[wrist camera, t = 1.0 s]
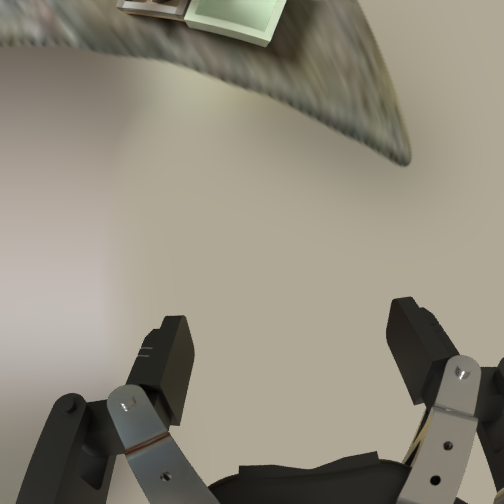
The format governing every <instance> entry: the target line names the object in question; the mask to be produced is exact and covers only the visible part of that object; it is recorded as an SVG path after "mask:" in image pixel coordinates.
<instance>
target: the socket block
mask: <svg viewBox="0 0 504 504" xmlns="http://www.w3.org/2000/svg"><path fill="white" fill-rule="evenodd" d="M190 3H191V0H171V1H168V2H164V3H156V2H152V1H150V0H118V3H117V5H116V8H118V9H119V10H121V11H122V12H124V13H126V14H136V15H145V16H153V17H160V18H167V19H173V20H179V21H184V22H185V20H184V18H185V15H186V13H187V10H188V8H189V5H190Z"/></svg>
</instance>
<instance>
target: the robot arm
mask: <svg viewBox="0 0 504 504" xmlns="http://www.w3.org/2000/svg"><path fill="white" fill-rule="evenodd" d="M386 339H387V343H388V346H389V348H390V350H391V352H392V354H393V357H394V359H395V361H396V364H397V366H398V368H399V370H400V373H401V375H402V377H403V380H404V382H405V384H406V387H407V389H408V392H409V394H410V396H411V399H412V401H413V404H414V405H417V404H421V403H425V406H426V409H425V411H424V413H423V416H422V419H421V421H420V424H419V426H418V429H417V431H416V434H415V436H414V438H413V441H412V443H411V445H410V448H409V450H408V452H407V454H406V456H405V457H404V459H403V461H402V463H399V462H396V461H392V460H385V459H379V458H378V454H377V451H375V452H370V453H365V454H360V455H354V456H349V457H344V458H341V459H339V460H336V461H334V462H331V463H328V464H325V465H322V466H320V467H317V468H314V469H300V468H292V467H284V466H278V465H256V466H255V465H252V466H239V474H235V475H231V476H228V477H225V478H223V479H220V480H218V481H216V482H215V483H213V484H211V485H210V486H208V487H207V486H206V485H205V483H204V482H203V481H202V479H201V478H200V477H199V476H198V474H197V473H196V471H195V470H194V468H193V467H192V466H191V464H190V463H189V461H188V460H187V459H186V457H185V456H184V454H183V453H182V451H181V450H180V448H179V447H178V445H177V444H176V442H175V441H174V439H173V438H172V436H171V435H170V433H169V432H168V431H169V427H170V425H175V426H180V422H181V417H182V413H183V408H184V403H185V398H186V394H187V390H188V385H189V380H190V376H191V372H192V367H193V363H194V356H195V354H194V345H193V341H192V337H191V334H190V330H189V326H188V323H187V320H186V317H185V316H184V315H181V316H165V318H164V320H163V322H162V325H161V327H160V329H153V330H152V331H151V332H150V333H149V334H148V335H147V336H146V337H145V339H144V341H143V343H142V346H141V349H140V351H139V353H138V357H137V358H136V360H135V362H134V365H133V367H132V370H131V372H130V374H129V377H128V380H127V382H126V384H125V385H123V386H120V387H118V388H117V389H115V390H114V391H113V392H112V393H111V394H110V395H109V397H108V399H107V400H101V401H95V402H88V403H87V402H86V401H85V400H84V398H83V397H82V396H81V395H79V394H75V393H69V394H66V395H64V396H62V397H60V398H59V399H58V400H57V401H56V402H55V404H54V405H53V408H52V410H51V412H50V414H49V417H48V419H47V421H46V423H45V426H44V428H43V431H42V433H41V435H40V438H39V440H38V443H37V445H36V448H35V450H34V453H33V455H32V458H31V460H30V463H29V466H28V468H27V472H26V474H25V477H24V480H23V483H22V486H21V489H20V492H19V495H18V498H17V501H16V504H106V500H107V495H108V490H109V486H110V481H111V477H112V473H113V468H114V464H115V460H116V456H117V454H125V457H126V459H127V461H128V463H129V465H130V467H131V469H132V471H133V473H134V475H135V477H136V479H137V481H138V483H139V485H140V486H141V488H142V490H143V492H144V494H145V496H146V497H147V499H148V501H149V502H150V504H468V503H466V502H464V501H462V500H461V499H459V498H457V497H456V495H457V493H458V490H459V487H460V484H461V481H462V478H463V475H464V472H465V469H466V466H467V462H468V459H469V456H470V452H471V448H472V445H473V441H474V436H475V433H476V432H477V434H478V437H479V439H480V442H481V445H482V447H483V450H484V453H485V456H486V459H487V462H488V465H489V468H490V471H491V474H492V477H493V480H494V484H495V487H496V490H497V495H496V497H495V499H494V503H493V504H504V358H502V359H501V361H500V363H499V365H498V366H497V367H480V366H479V364H478V363H477V362H476V361H475V360H474V359H472V358H470V357H468V356H464V355H460V354H459V352H458V351H457V349H456V348H455V346H454V344H453V343H452V342H451V340H450V339H449V337H448V335H447V334H446V332H445V331H444V330H443V328H442V326H441V325H440V324H439V322H438V321H437V319H436V318H435V316H434V315H433V314H432V313H431V312H429V311H428V310H427V309H425V308H423V307H422V308H419V306H418V305H417V304H416V302H415V300H414V299H413V298H412V297H404V298H397V299H393V300H392V303H391V308H390V313H389V318H388V323H387V328H386Z"/></svg>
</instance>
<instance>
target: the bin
mask: <svg viewBox="0 0 504 504" xmlns="http://www.w3.org/2000/svg"><path fill="white" fill-rule="evenodd" d="M285 3H286V0H191V3H190V5H189V8H188V10H187V13H186V15H185V18H184V20H185V22H186V24H187V25H188V27H189V28H194V29H199V30H204V31H208V32H212V33H216V34H220V35H224V36H228V37H232V38H236V39H239V40H243V41H246V42H250V43H253V44H256V45H259V46H263V47H266V46H267V45H268V44H269V42H270V41H271V38H272V36H273V33H274V30H275V28H276V25H277V23H278V20H279V18H280V15H281V13H282V10H283V8H284V5H285Z"/></svg>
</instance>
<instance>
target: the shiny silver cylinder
mask: <svg viewBox="0 0 504 504" xmlns="http://www.w3.org/2000/svg"><path fill="white" fill-rule="evenodd" d="M150 1H152V2H156V3H164V2H168V1H171V0H150Z"/></svg>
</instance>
